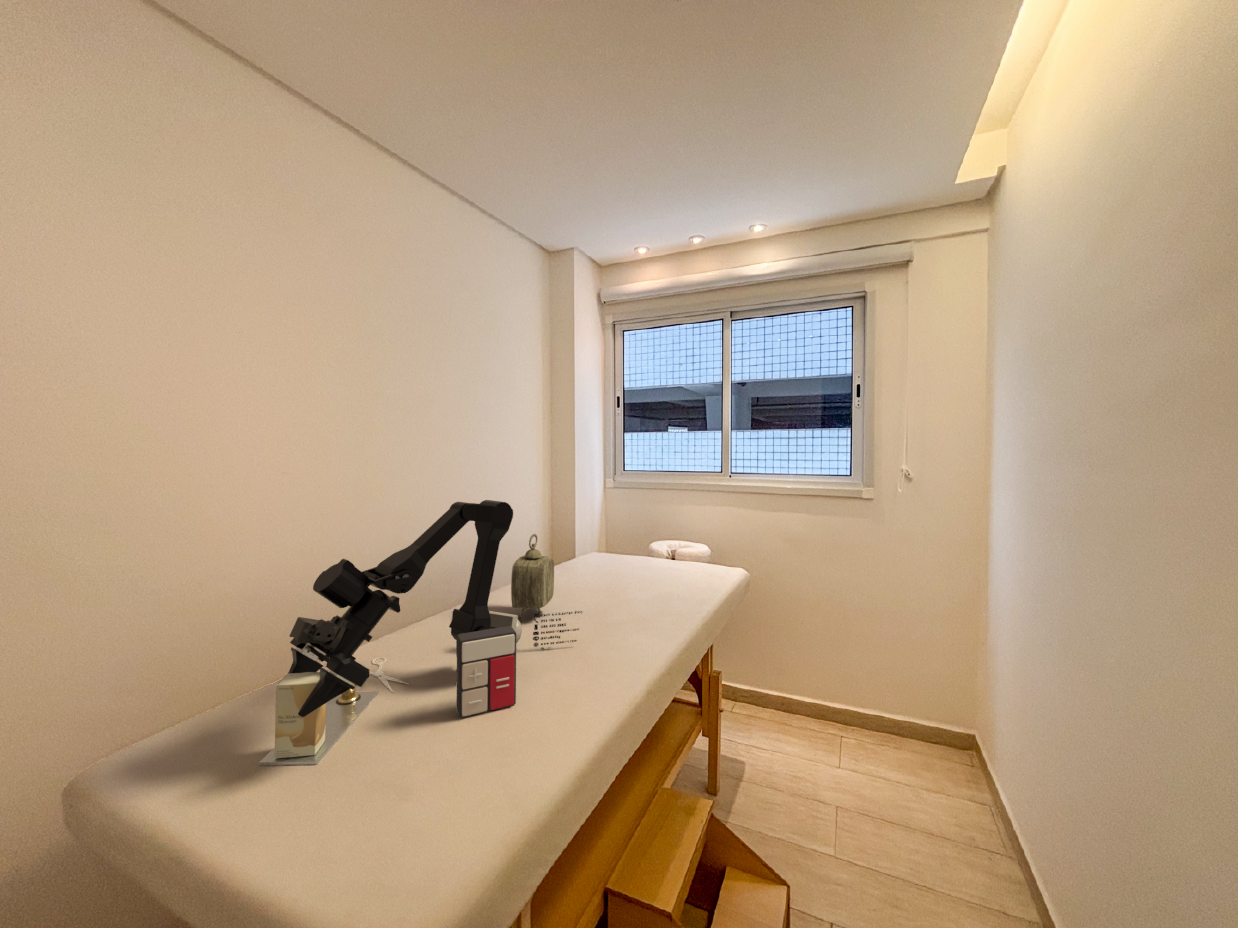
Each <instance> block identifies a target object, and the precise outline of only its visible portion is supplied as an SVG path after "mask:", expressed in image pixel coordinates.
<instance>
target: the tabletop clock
mask: <svg viewBox="0 0 1238 928" xmlns="http://www.w3.org/2000/svg"><path fill="white" fill-rule="evenodd" d="M534 537H535V543H532V539H533V538H534ZM537 545H538V535H537V534H536V533H533V534H532V535H531V536H530V537H529V540H528V547H529V549H528V550H527V551H526V552H525V554H524V555H522V556H519V557H518V558H517V559H516V560H515V561H514V562H513V565H512V568H511V581H510V582H511V584H510V586H511V587H510V589H511V590H510V597H511V598H510V599H511V606H512V608H514V609H521V612H520V614H519V615H518V618H517V619H518V620H519V622H520V623H521V621H522V618H523V617H522V616H523V615H524V613H525V612H526V611H527V610H530V609H531V610H537V612H536V613H537V614H539V615H538V617H539V616H541V615H543V614H544V612H543V611H541V608H544V607H546V606H547V605H548V604H549V603H550V602H551V600H552V598H553V597H554V591H555V590H554V589H555V560H554V559H552V558H551V557H549V556H543V555H542V554H541V551H540V550H539V549H537V548H536V547H537ZM543 616H544V615H543Z"/></svg>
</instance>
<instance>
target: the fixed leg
mask: <svg viewBox="0 0 1238 928" xmlns="http://www.w3.org/2000/svg"><path fill="white" fill-rule="evenodd" d="M352 685H353V686H354V687H355V688H354V689H353V690H352V689H349V690H347V691H346V692H344V693H342V694H341V696H340V697H339V698H338V703H340V704H348V703H352V702H354V701H356V700H357V699H358V698H359V694H358V693H356V692H357V691H356V684H354V683H353V684H352Z"/></svg>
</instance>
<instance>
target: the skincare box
mask: <svg viewBox="0 0 1238 928" xmlns="http://www.w3.org/2000/svg"><path fill="white" fill-rule="evenodd" d="M319 680H320V671H317V672H304V673H289V674H288V673H287V674H286V675H285V676H284V677H283V678H282V679H281V680H280V681H278V683H277V684H276V685H275V686H276V687H275V689H276V690H275V714H274V715H275V718H274V719H275V720H274V721H275V722H274V748H275V754H274V758H285V757H297V756H309V755H315V754H316V753H317V751H318V750H319V749H320V747H321V746H322V744H323V743H324V741H325V726H326V703H325V704H324V705H322V706H321V707H319V708H317V709H316V710H314V711H313V712H311V713H310V714H308V715H306V716H305V717H301V716H299V715H298V712H299V711H300V709H301V707H302V706H303V704H304V703H305V701H306V700H307V698H308V697H309V695H310V694H311V692H312V691H313V689H314V688H315V686H316V685H317V684H318V682H319Z"/></svg>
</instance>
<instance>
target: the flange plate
mask: <svg viewBox="0 0 1238 928" xmlns="http://www.w3.org/2000/svg"><path fill="white" fill-rule="evenodd" d="M355 692H356V693H358V694H359V698H358V699H357V700H356V701H354V702H352V703H348V704H340V703H338V698H339V697H340V696H341V694H340V695H339V696H337V697H335V698H333V699H332V700H330V701H328V702H327V703H326V726H325V741H324V743H323V744H322V746H321V747H320V749H319V750H318V751H317V753H316V754H315V755H309V756H297V757H285V758H274V754H275V747H273V748H272V749H271V751H269V753H267V754H266V755H265V756H264V757H263V758H262V759H261V760H260V761H259V762H258V766H296V765H298V766H301V765H302V766H303V765H305V766H306V765H311V766H312V765H318V764H319V763H320V762H321V761H322V760H323V758H325V756H326V754H328V752H329V751H330V750H331V749H332V748H333V746H334V745H335V744H336V743H337V742H338V741H339V740H340V738H341V737H342V736H343V735H344V734H345V733H346V732H347V730H348V729H350V728H351V726H352V725H353V724H354V722H355V721H356V720H357V719H358V718H359V717H360V715H361V714H362V713H363V712H364V711H365V710H366V709H367V708H368V706H369V705H370V704H371V703H372V701H374V699H375V698H376V697H377V696H378V695H379V691H376V690H375V691H373V690H372V691H369V690H368V691H355Z"/></svg>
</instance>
